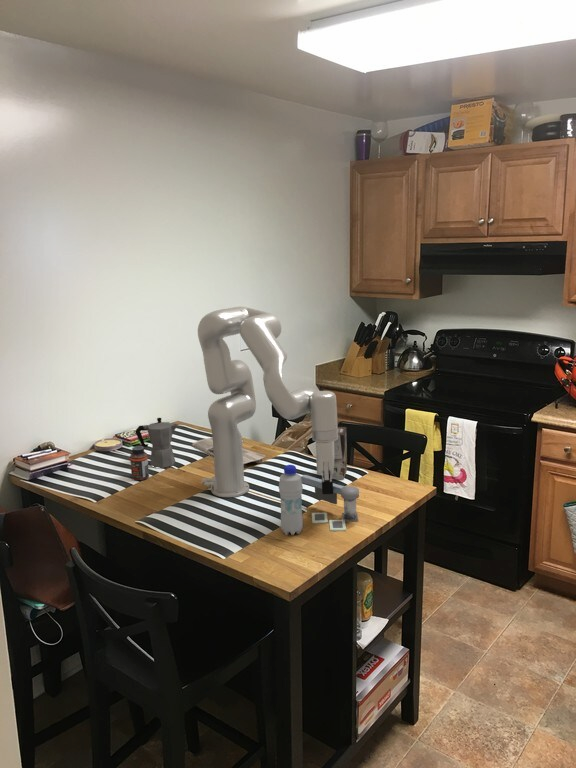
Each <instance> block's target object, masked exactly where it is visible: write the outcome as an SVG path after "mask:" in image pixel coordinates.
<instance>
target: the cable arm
mask: <svg viewBox="0 0 576 768" xmlns="http://www.w3.org/2000/svg"><path fill="white" fill-rule="evenodd" d="M300 476H301V480H302V484H305V485H308V486H312V487H314V498H315V499H319V500H322V501H324V502H327V503H330V504H333V505H338V495H340V497H341V498H342V499H343V500H344V499H347V500H354V499H356V500H357V499H359V497H360V489H359V488H358V487H357V486H353V485H345V486H344V485H340V484H336V483H334V482H333V494H322V478H317V477H314V476H311V475H308V474H303V475H300Z"/></svg>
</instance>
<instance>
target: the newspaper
mask: <svg viewBox="0 0 576 768" xmlns="http://www.w3.org/2000/svg"><path fill="white" fill-rule="evenodd" d="M191 446H192V447H193V448H195V449H197V450H199V451H201V452H203V453H205V454H207V455H209V456H211V457H213V458H214V451H213V438H212V437H207V438H202V439H200V440H196V441H195V442H192V443H191ZM265 457H266V454H262V453H259V452H257V451H256V452H255V451H252V450H250V449H246V448H244V447H243V468H246V467H248V466H247V465H246V464H248V463H251V462H254V463H256V464H261V463H262V462H263V461H264V460H263V459H264V458H265Z"/></svg>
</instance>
